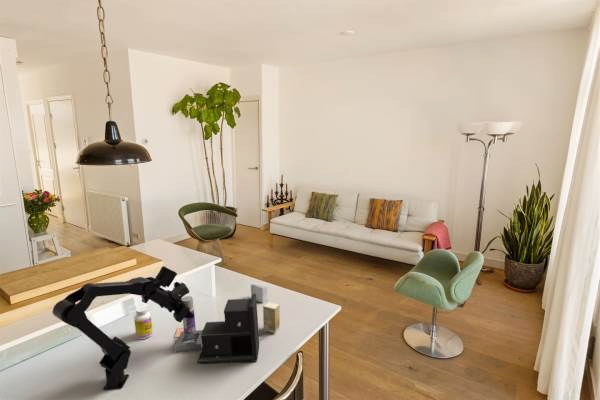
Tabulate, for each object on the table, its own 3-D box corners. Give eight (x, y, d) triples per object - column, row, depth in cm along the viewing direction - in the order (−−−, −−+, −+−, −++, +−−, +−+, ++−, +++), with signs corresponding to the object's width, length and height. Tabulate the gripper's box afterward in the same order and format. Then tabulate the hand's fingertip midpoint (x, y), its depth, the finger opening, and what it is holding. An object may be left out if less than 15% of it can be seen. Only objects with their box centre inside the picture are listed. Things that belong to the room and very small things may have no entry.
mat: (190, 336, 148) (190, 335, 148) (174, 337, 148) (174, 337, 148) (193, 327, 155) (193, 326, 155) (178, 328, 155) (178, 328, 155)
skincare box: (263, 331, 152) (262, 305, 149) (268, 326, 155) (267, 301, 153) (275, 334, 149) (275, 308, 147) (280, 329, 153) (279, 304, 150)
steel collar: (201, 350, 139) (200, 344, 138) (175, 352, 138) (175, 346, 137) (205, 336, 149) (205, 329, 148) (181, 337, 148) (181, 331, 147)
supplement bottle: (146, 340, 146) (143, 313, 144) (133, 339, 147) (129, 312, 145) (156, 331, 153) (153, 305, 150) (143, 330, 154) (139, 304, 151)
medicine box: (268, 299, 180) (267, 284, 178) (263, 303, 176) (262, 288, 174) (256, 296, 184) (255, 281, 182) (251, 299, 180) (250, 284, 178)
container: (197, 328, 145) (194, 295, 142) (194, 334, 140) (191, 301, 137) (185, 328, 144) (182, 296, 141) (182, 335, 140) (179, 301, 137)
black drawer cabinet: (196, 364, 131) (191, 308, 126) (203, 347, 141) (199, 294, 137) (257, 362, 131) (254, 306, 127) (259, 345, 142) (257, 293, 137)
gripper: (182, 288, 128) (212, 306, 136) (168, 272, 143) (196, 289, 151) (162, 313, 125) (194, 330, 133) (150, 295, 140) (180, 311, 148)
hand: (191, 314), depth 141 cm, fingers closed on container, 5 cm apart
